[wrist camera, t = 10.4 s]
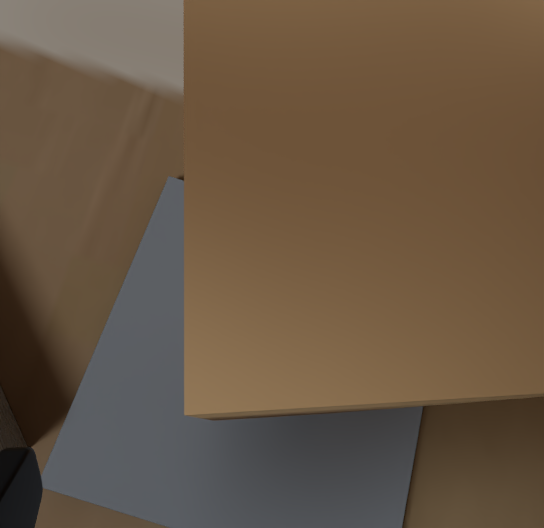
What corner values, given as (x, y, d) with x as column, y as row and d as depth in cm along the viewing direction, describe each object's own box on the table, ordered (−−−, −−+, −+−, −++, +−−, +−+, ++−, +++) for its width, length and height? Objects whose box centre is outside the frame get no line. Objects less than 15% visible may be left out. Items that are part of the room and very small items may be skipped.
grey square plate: (442, 268, 18) (447, 264, 18) (384, 591, 14) (390, 596, 14) (170, 182, 18) (168, 176, 18) (43, 484, 14) (37, 486, 14)
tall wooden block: (323, 414, 15) (717, 383, 3) (213, 421, 15) (184, 415, 3) (314, 307, 17) (579, -18, 4) (211, 310, 16) (183, -37, 4)
